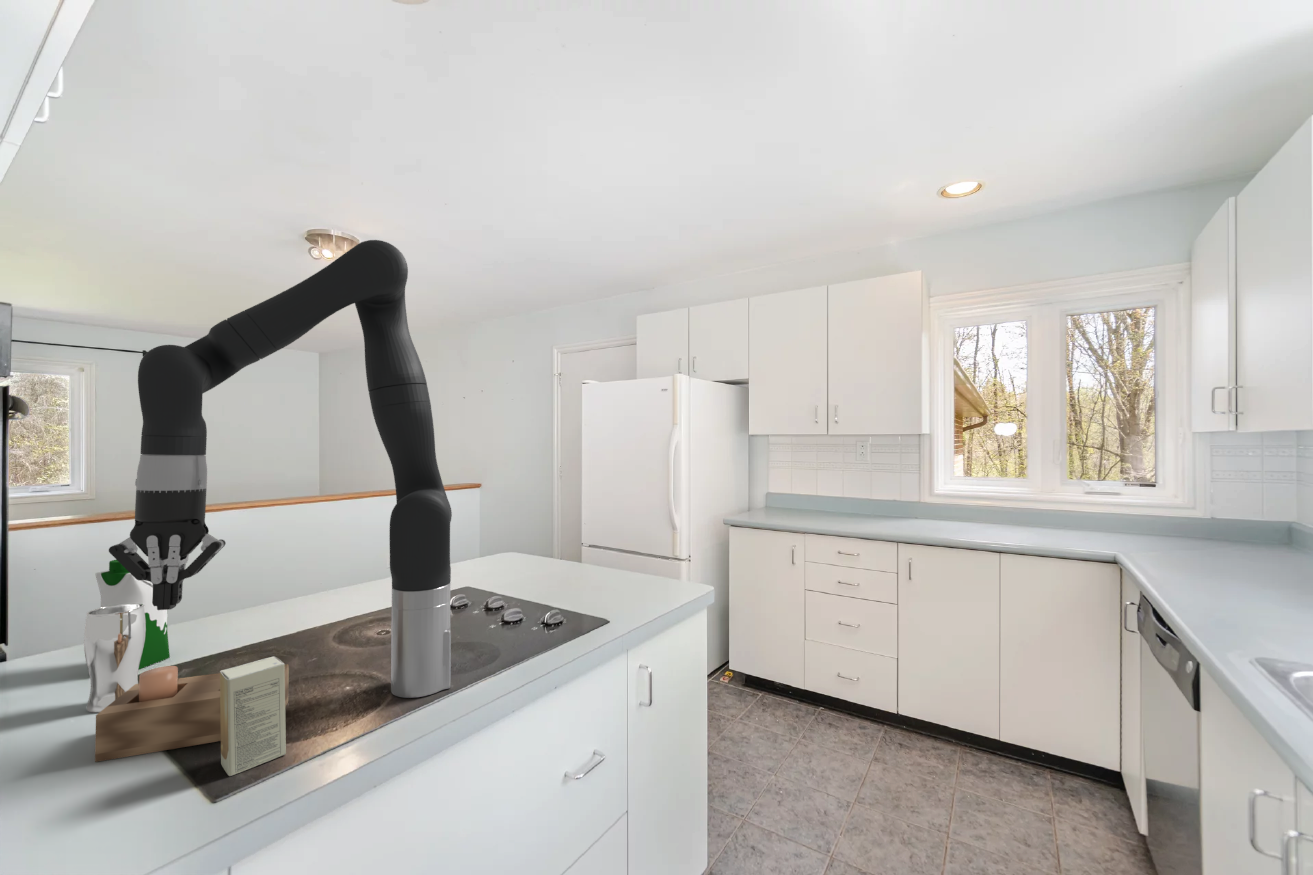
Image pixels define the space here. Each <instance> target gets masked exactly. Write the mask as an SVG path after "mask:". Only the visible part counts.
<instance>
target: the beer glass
mask: <svg viewBox="0 0 1313 875" xmlns="http://www.w3.org/2000/svg"><path fill="white" fill-rule="evenodd" d="M85 618H86V619H85V623H84V624H85V625H84V633H83V651H84V657H85V662H86V667H87V670H88V674H89V680H90V691H89V696H88V700H87V704H86V711H87V712H88V713H96V714H98V713H99V712H101V711H102V710H103V709H104V708H106V707H107V706H108V705H110V704H111V703H112V702H113V701H115V700H116V699H117V698H118V697H120V696H121V695H122V694H124V693H125V692H126V691H127V690H129V689H130V688H131V687H132V686H134V685H135V684H139V678H138V676H139V670H140V669H139V664H140V660H141V656H142V652H143V648H144V642H145V633H146V622H145V611H144V604H141V603H127V604H118V605H112V606H106V607H102V608H101V607H97V608H94V609H91V610H89V611H87V612H86V617H85ZM138 669H139V670H138Z"/></svg>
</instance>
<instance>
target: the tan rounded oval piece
mask: <svg viewBox="0 0 1313 875" xmlns="http://www.w3.org/2000/svg"><path fill="white" fill-rule="evenodd" d="M178 671H179V667H178V666H175V665H164V666H159V667H155V668H151V669H147V670H145V671H143V672H141V673H140V674H138V676H139V678H138V684H139V702H144V701H151V700H158V699H165V698H172V697H174V696H175V695H176V694H177V684H178V678H179V677H178V676H179V675H178V674H179V673H178Z"/></svg>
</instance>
